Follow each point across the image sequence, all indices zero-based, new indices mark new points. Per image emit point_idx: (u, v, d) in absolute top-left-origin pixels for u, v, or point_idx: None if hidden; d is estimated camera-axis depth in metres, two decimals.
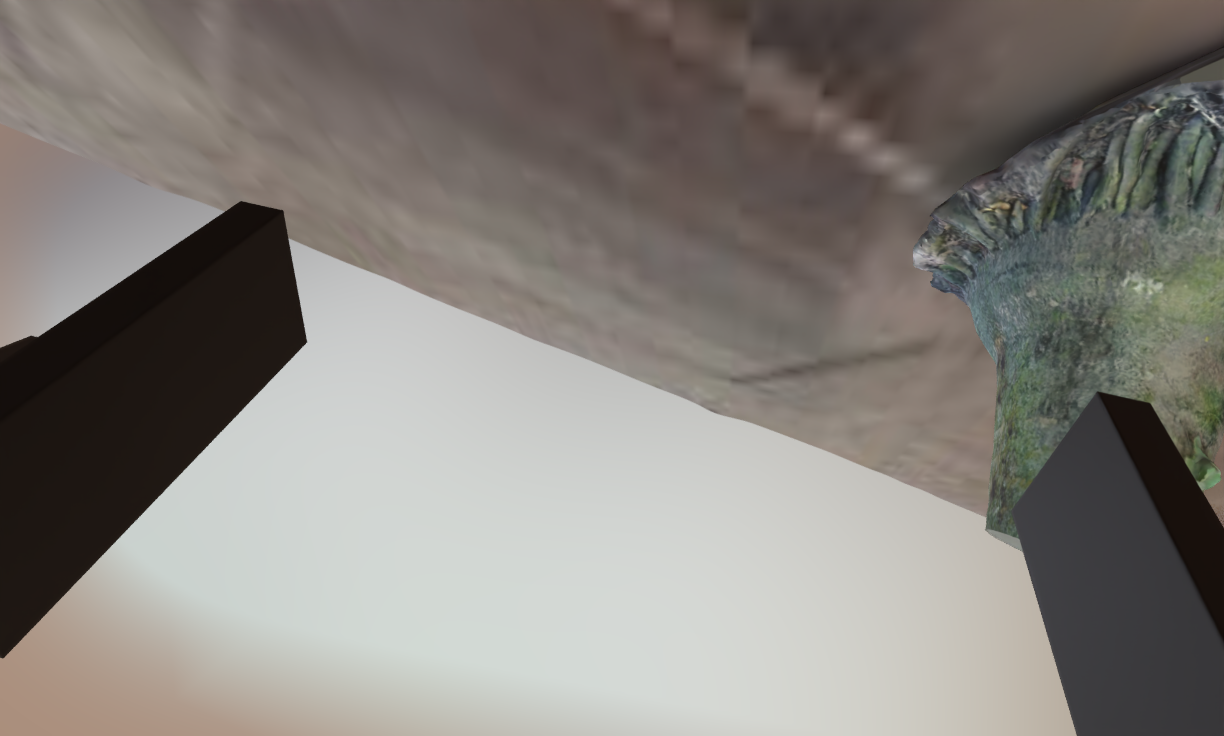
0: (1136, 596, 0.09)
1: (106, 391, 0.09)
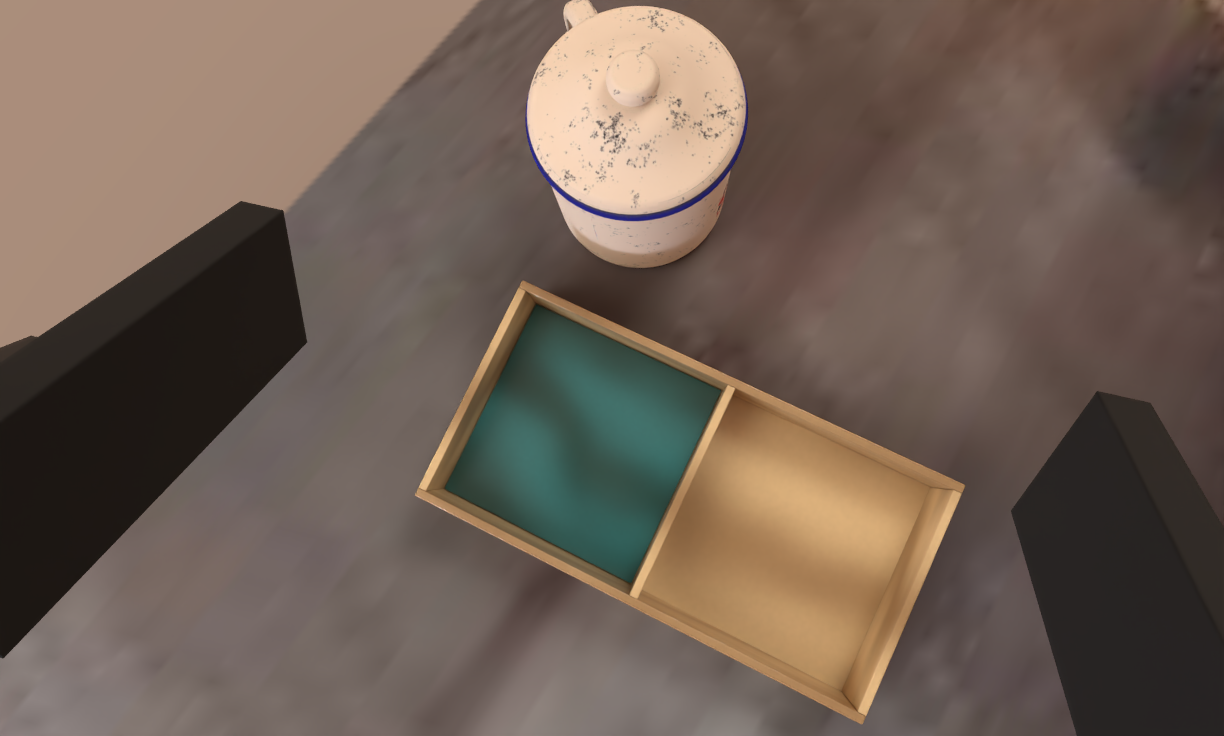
0: (1136, 596, 0.09)
1: (106, 391, 0.09)
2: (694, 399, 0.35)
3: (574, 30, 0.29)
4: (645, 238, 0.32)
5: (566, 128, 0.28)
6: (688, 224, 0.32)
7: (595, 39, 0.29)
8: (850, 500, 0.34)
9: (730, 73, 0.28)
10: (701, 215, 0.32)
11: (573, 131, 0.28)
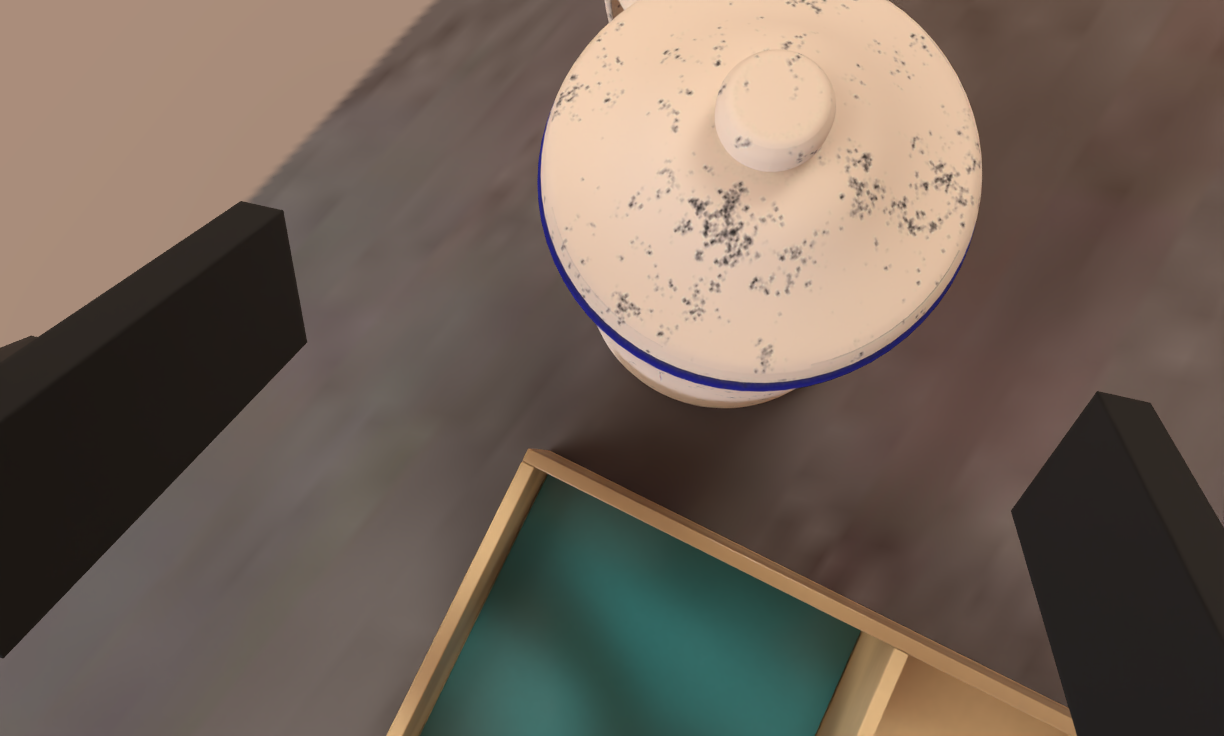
0: (1136, 596, 0.09)
1: (106, 391, 0.09)
2: (818, 640, 0.21)
3: (635, 10, 0.15)
4: (753, 393, 0.18)
5: (622, 209, 0.14)
6: None
7: (679, 28, 0.14)
8: None
9: (954, 98, 0.14)
10: None
11: (637, 217, 0.14)
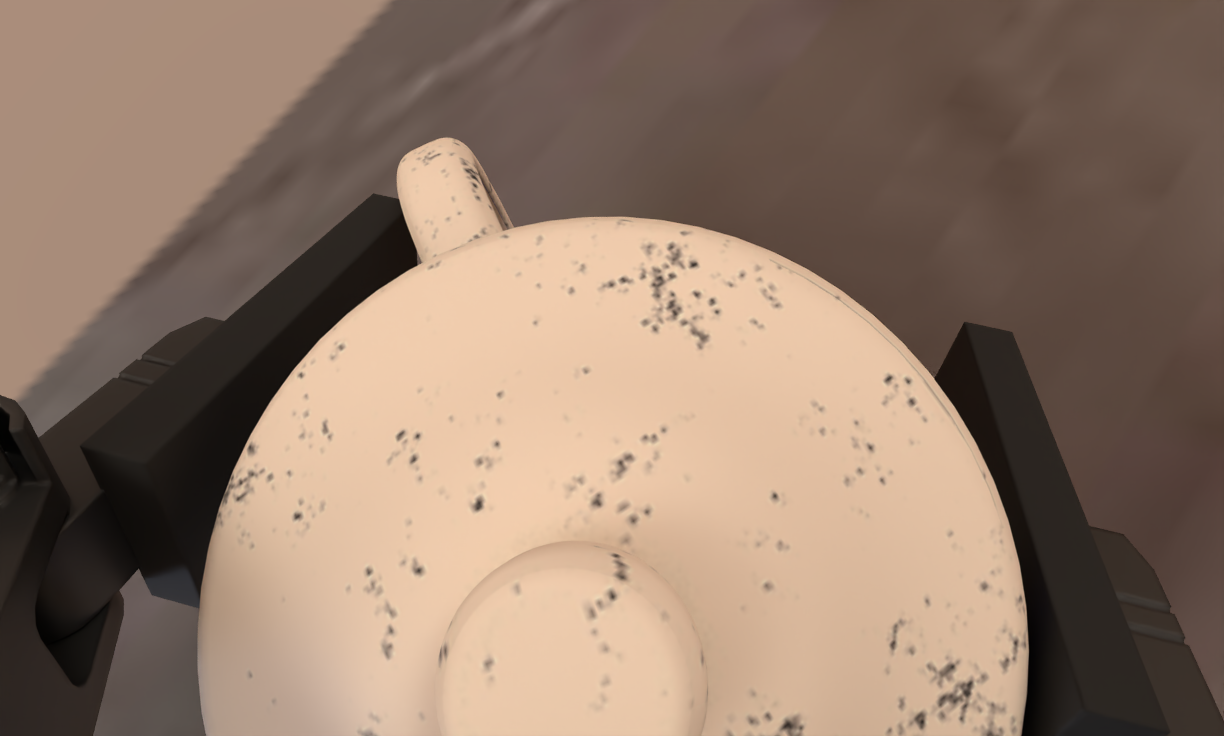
0: None
1: (288, 366, 0.10)
2: None
3: (368, 318, 0.08)
4: None
5: None
6: None
7: (435, 372, 0.07)
8: None
9: (973, 509, 0.07)
10: None
11: None
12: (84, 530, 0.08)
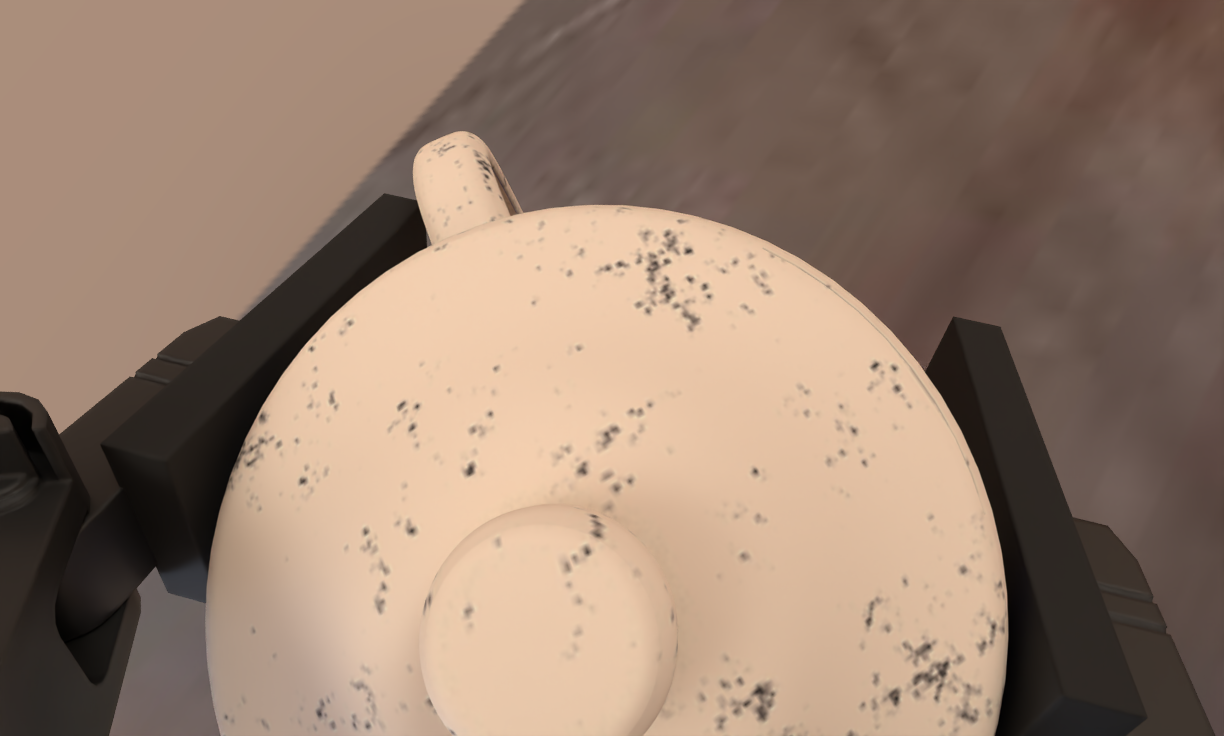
0: None
1: None
2: None
3: (376, 296, 0.08)
4: None
5: (308, 714, 0.07)
6: None
7: (436, 348, 0.08)
8: None
9: (955, 494, 0.07)
10: None
11: None
12: (103, 529, 0.08)
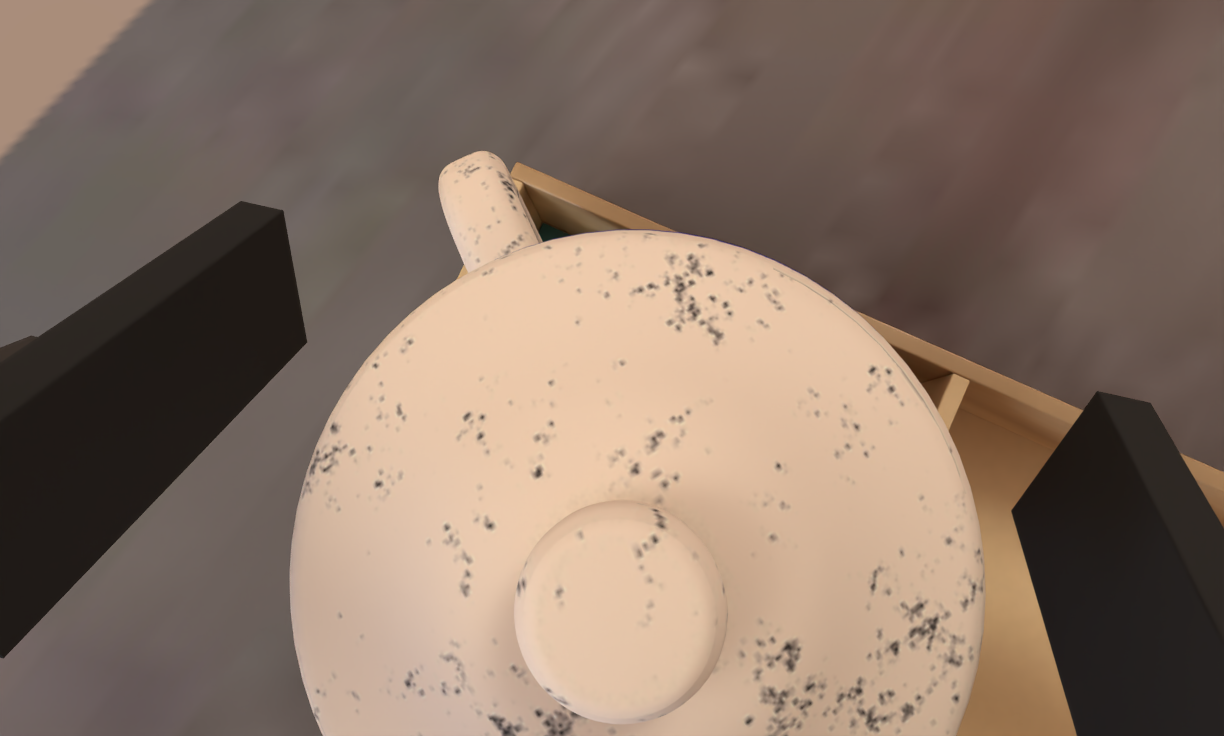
0: (1136, 596, 0.09)
1: (106, 391, 0.09)
2: None
3: (432, 317, 0.09)
4: None
5: (397, 685, 0.08)
6: None
7: (493, 364, 0.09)
8: None
9: (941, 478, 0.09)
10: None
11: (418, 706, 0.08)
12: None
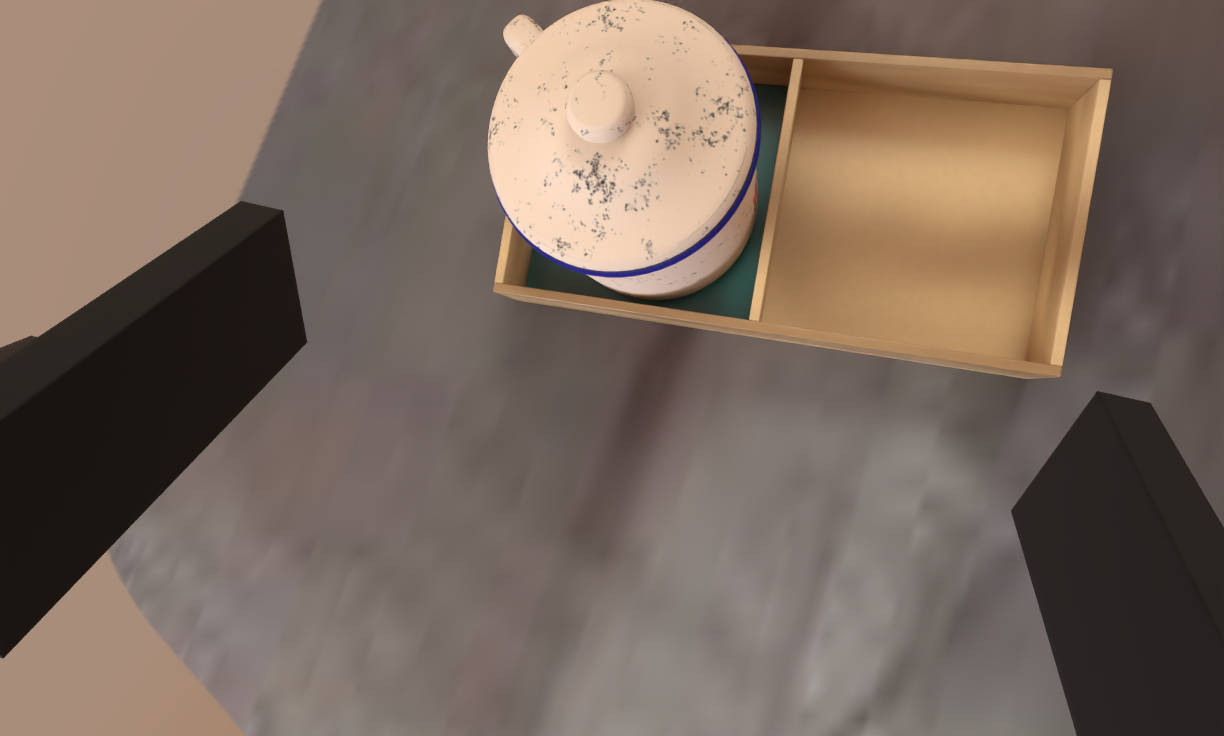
0: (1136, 596, 0.09)
1: (106, 391, 0.09)
2: (762, 107, 0.31)
3: (517, 65, 0.23)
4: (677, 275, 0.26)
5: (541, 188, 0.23)
6: (723, 243, 0.26)
7: (543, 69, 0.23)
8: (975, 156, 0.29)
9: (719, 53, 0.22)
10: (736, 227, 0.26)
11: (550, 190, 0.22)
12: None
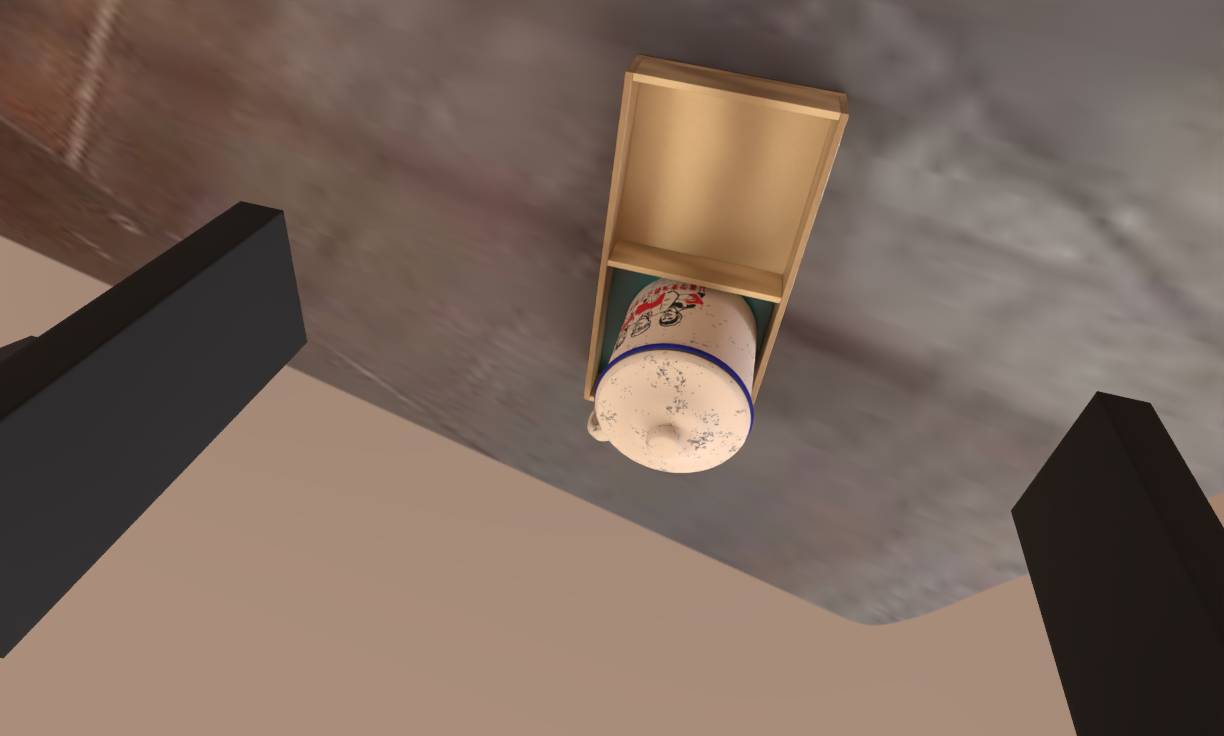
0: (1136, 596, 0.09)
1: (106, 391, 0.09)
2: None
3: (629, 456, 0.43)
4: (749, 362, 0.42)
5: (701, 458, 0.41)
6: (731, 337, 0.41)
7: (634, 449, 0.42)
8: (672, 130, 0.40)
9: (631, 369, 0.38)
10: (722, 329, 0.41)
11: (703, 455, 0.40)
12: None
